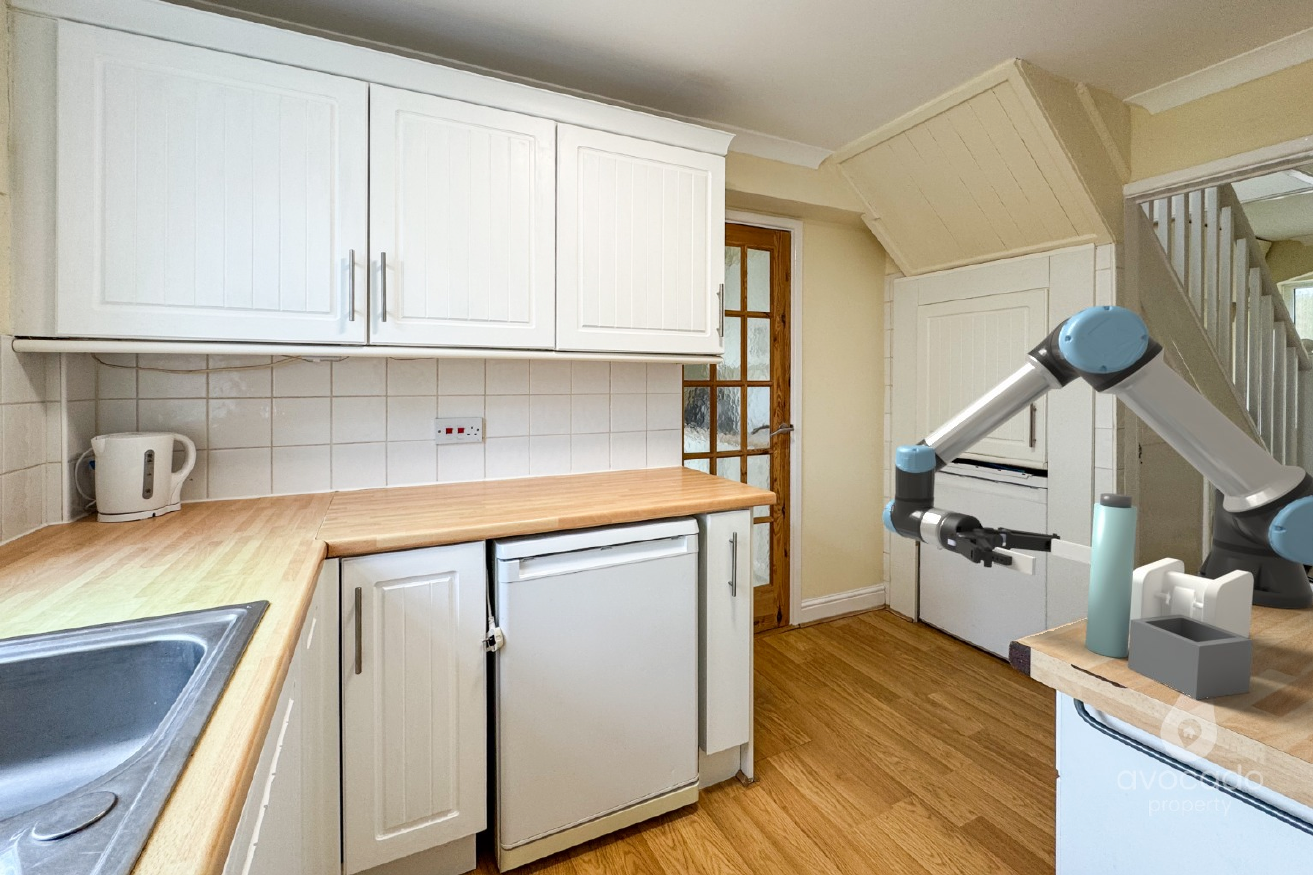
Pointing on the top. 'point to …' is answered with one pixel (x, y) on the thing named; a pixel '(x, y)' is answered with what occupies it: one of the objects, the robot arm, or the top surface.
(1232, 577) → the white piece
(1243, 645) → the block
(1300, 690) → the top surface
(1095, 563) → the teal bottle
